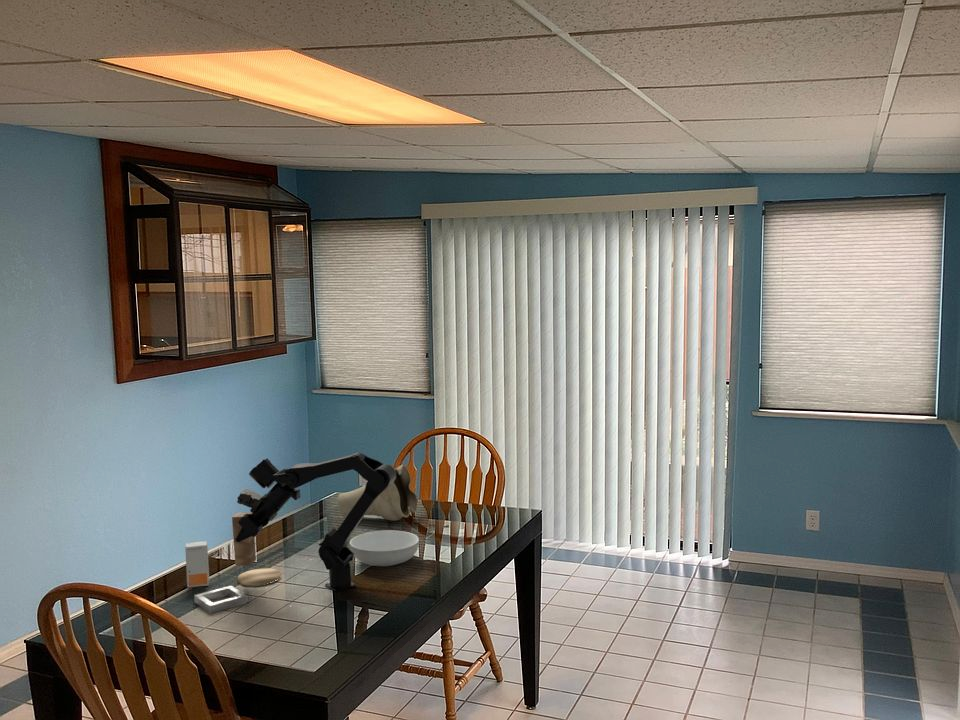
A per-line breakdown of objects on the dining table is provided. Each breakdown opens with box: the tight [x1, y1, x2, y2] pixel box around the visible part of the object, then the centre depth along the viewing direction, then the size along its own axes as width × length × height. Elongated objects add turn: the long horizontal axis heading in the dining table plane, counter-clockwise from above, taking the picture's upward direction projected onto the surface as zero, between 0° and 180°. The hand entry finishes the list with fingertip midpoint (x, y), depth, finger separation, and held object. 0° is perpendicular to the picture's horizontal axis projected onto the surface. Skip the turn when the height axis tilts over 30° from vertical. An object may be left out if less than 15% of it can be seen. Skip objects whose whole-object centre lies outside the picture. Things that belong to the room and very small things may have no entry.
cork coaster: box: [237, 567, 281, 587], centre depth 259 cm, size 12×12×1 cm
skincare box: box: [184, 540, 210, 589], centre depth 255 cm, size 6×4×12 cm
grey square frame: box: [193, 585, 249, 614], centre depth 241 cm, size 10×10×2 cm
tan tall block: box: [231, 511, 257, 566], centre depth 254 cm, size 4×4×14 cm
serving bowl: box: [349, 529, 420, 567], centre depth 271 cm, size 21×21×7 cm
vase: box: [337, 464, 418, 522], centre depth 317 cm, size 23×23×30 cm
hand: (239, 538), depth 254 cm, fingers closed on tan tall block, 4 cm apart
